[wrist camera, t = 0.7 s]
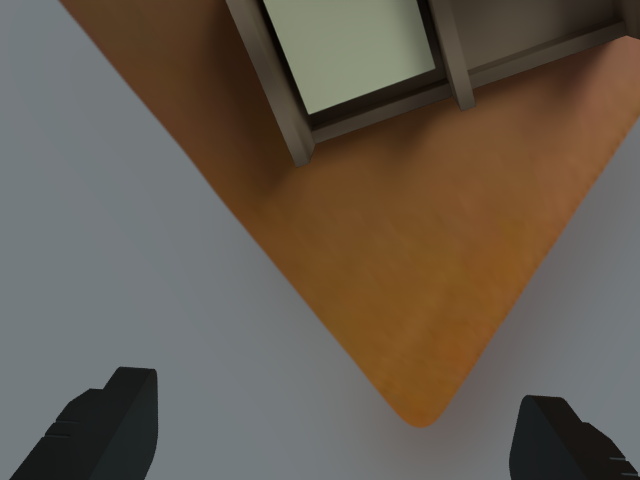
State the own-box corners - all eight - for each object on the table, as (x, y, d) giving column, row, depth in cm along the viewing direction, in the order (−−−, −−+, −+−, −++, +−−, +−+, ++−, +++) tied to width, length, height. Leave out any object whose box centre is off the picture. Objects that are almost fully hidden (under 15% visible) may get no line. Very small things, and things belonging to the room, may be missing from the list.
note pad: (265, -22, 31) (255, -20, 28) (392, -78, 29) (393, -81, 26) (313, 102, 34) (308, 114, 31) (430, 58, 32) (435, 68, 29)
